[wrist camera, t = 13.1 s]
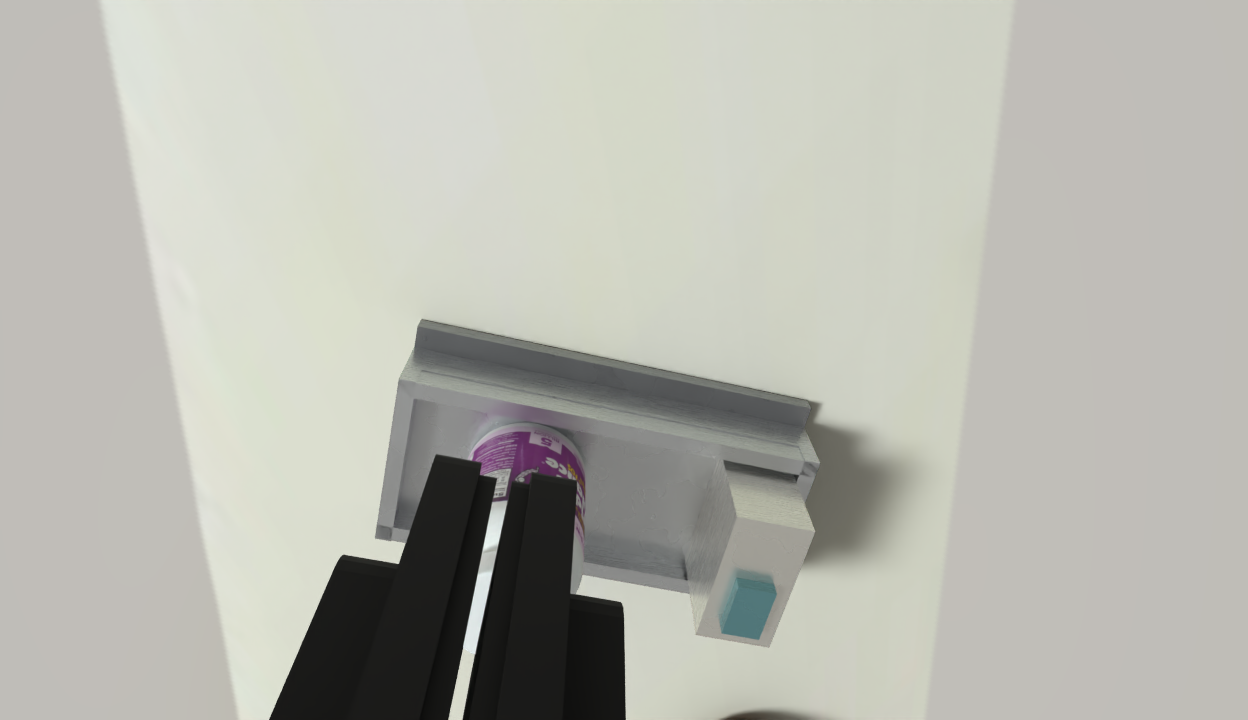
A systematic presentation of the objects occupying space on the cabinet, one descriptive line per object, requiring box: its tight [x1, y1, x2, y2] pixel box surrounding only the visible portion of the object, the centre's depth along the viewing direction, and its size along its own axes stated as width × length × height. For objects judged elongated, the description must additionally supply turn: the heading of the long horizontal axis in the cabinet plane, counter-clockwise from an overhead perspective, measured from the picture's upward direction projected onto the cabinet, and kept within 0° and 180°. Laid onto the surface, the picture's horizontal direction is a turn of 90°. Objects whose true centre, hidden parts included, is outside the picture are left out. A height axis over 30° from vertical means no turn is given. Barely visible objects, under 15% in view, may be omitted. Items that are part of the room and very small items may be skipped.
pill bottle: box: [463, 423, 586, 655], centre depth 34 cm, size 5×5×10 cm
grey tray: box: [375, 320, 820, 647], centre depth 37 cm, size 10×18×8 cm, turn 76°
